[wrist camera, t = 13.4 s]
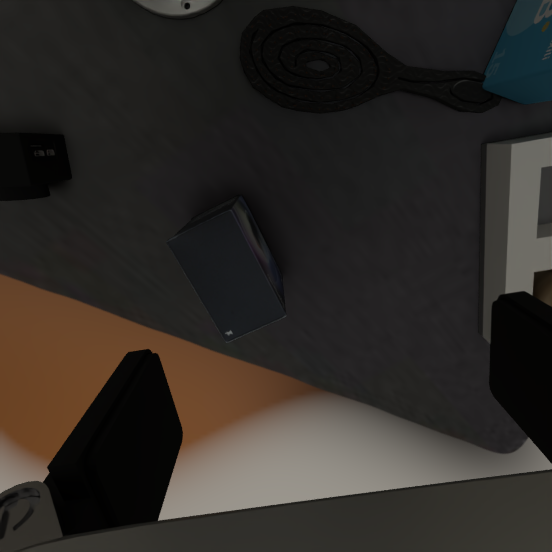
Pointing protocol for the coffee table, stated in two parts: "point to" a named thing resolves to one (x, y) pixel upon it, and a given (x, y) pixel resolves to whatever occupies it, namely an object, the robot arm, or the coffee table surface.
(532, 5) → the data package
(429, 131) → the coffee table surface
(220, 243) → the small box
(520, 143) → the socket block
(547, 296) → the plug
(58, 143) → the digital camera
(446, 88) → the hairbrush
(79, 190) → the coffee table surface
